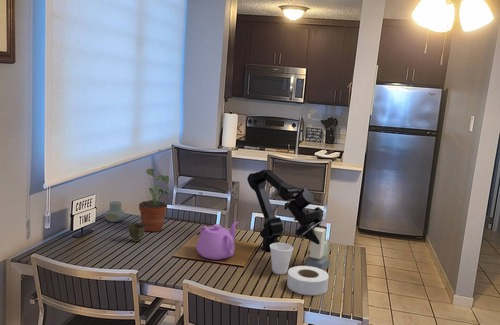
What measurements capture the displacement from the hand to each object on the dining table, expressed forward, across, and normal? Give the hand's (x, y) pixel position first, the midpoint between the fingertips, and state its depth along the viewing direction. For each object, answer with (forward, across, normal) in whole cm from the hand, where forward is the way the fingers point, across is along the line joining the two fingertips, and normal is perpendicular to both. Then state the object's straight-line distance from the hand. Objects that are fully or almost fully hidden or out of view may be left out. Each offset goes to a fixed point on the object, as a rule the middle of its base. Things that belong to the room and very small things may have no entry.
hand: (320, 242), depth 190 cm
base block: (+8, 0, +9) cm, 12 cm away
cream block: (+4, 0, +6) cm, 7 cm away
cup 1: (-49, -23, +66) cm, 86 cm away
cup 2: (0, -15, +17) cm, 22 cm away
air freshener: (-71, -6, +88) cm, 113 cm away
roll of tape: (+10, -21, +6) cm, 24 cm away
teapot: (-22, -12, +39) cm, 46 cm away
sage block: (+5, +16, +12) cm, 21 cm away
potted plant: (-53, -4, +70) cm, 88 cm away
